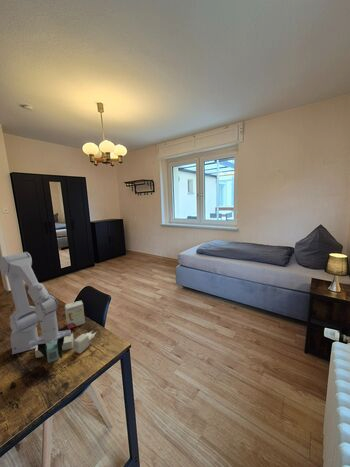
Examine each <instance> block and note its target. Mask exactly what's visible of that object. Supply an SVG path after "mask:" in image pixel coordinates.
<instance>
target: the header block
mask: <svg viewBox="0 0 350 467" xmlns="http://www.w3.org/2000/svg"><path fill="white" fill-rule="evenodd" d="M74 340H75V338H74V332H71V336H69V337H68V336H66V337H64V343H63V345H62V348H61V352H64V351H68V350H71V349H74V345H73V341H74ZM46 345H48V344H47V343H46ZM34 353H35V358H36V359H37V358H41V357H44V355H43V354H42V353H41V352H40V351H38V345H37V347H36V348H35V350H34Z"/></svg>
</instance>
